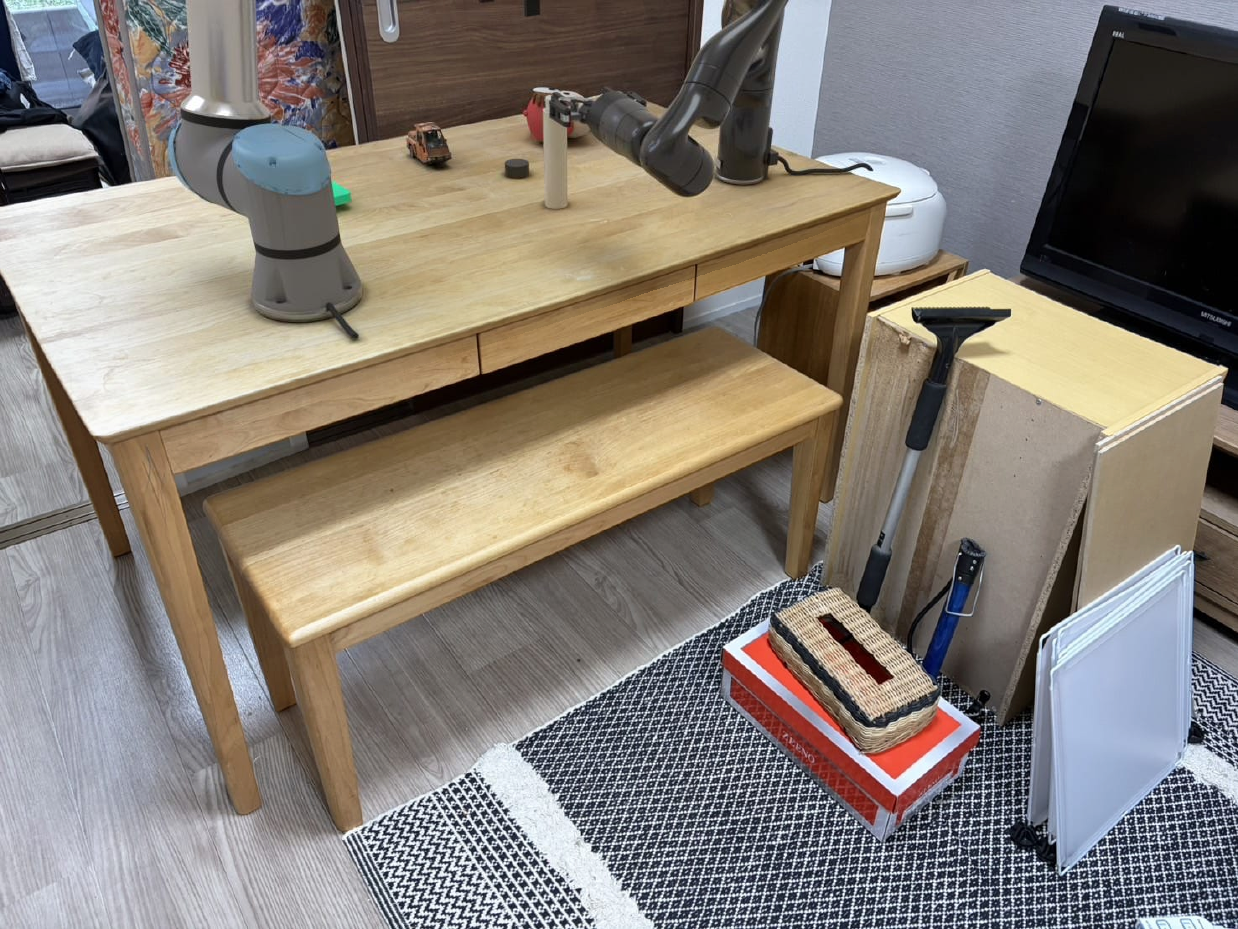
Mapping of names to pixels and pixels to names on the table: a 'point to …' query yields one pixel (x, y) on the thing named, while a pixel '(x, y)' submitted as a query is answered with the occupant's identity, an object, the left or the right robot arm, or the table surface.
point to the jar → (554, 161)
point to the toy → (536, 113)
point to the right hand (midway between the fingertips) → (579, 95)
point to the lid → (516, 168)
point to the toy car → (428, 144)
